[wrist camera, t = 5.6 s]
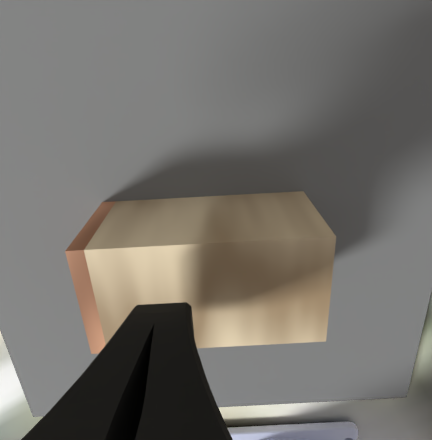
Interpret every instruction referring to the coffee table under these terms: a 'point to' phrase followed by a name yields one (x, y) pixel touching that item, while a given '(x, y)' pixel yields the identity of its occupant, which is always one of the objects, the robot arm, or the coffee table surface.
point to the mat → (221, 168)
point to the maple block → (208, 266)
